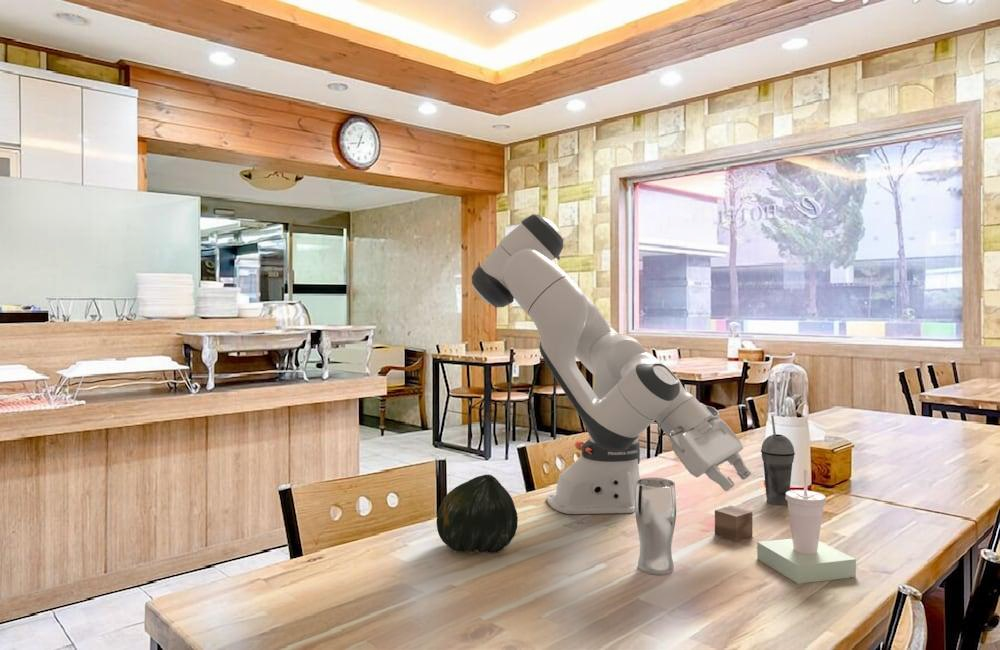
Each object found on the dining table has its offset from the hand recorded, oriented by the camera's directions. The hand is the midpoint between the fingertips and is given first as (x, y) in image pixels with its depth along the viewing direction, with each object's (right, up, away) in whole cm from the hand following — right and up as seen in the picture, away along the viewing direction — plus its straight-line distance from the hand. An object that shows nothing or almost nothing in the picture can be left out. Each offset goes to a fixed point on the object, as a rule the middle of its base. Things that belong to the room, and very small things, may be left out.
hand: (739, 482), depth 121 cm
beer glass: (-17, -13, -6) cm, 23 cm away
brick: (+2, -13, +9) cm, 16 cm away
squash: (-48, -14, +4) cm, 50 cm away
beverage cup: (+20, -12, +31) cm, 38 cm away
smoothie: (+9, -10, -7) cm, 15 cm away
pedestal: (+9, -13, -7) cm, 17 cm away
